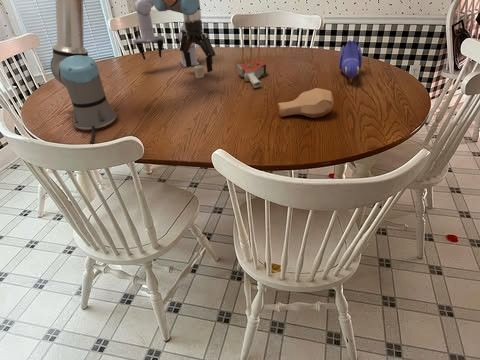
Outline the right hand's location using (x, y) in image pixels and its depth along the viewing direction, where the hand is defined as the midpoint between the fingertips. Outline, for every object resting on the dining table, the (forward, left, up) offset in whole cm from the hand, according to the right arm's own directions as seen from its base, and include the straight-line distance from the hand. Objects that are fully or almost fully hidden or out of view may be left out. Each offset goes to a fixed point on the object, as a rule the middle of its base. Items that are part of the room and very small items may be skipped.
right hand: (152, 58), depth 173 cm
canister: (+17, +19, -7) cm, 26 cm away
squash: (+75, +44, -7) cm, 87 cm away
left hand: (+17, +19, -3) cm, 26 cm away
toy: (+50, +79, -7) cm, 93 cm away
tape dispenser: (+32, +39, -7) cm, 51 cm away
